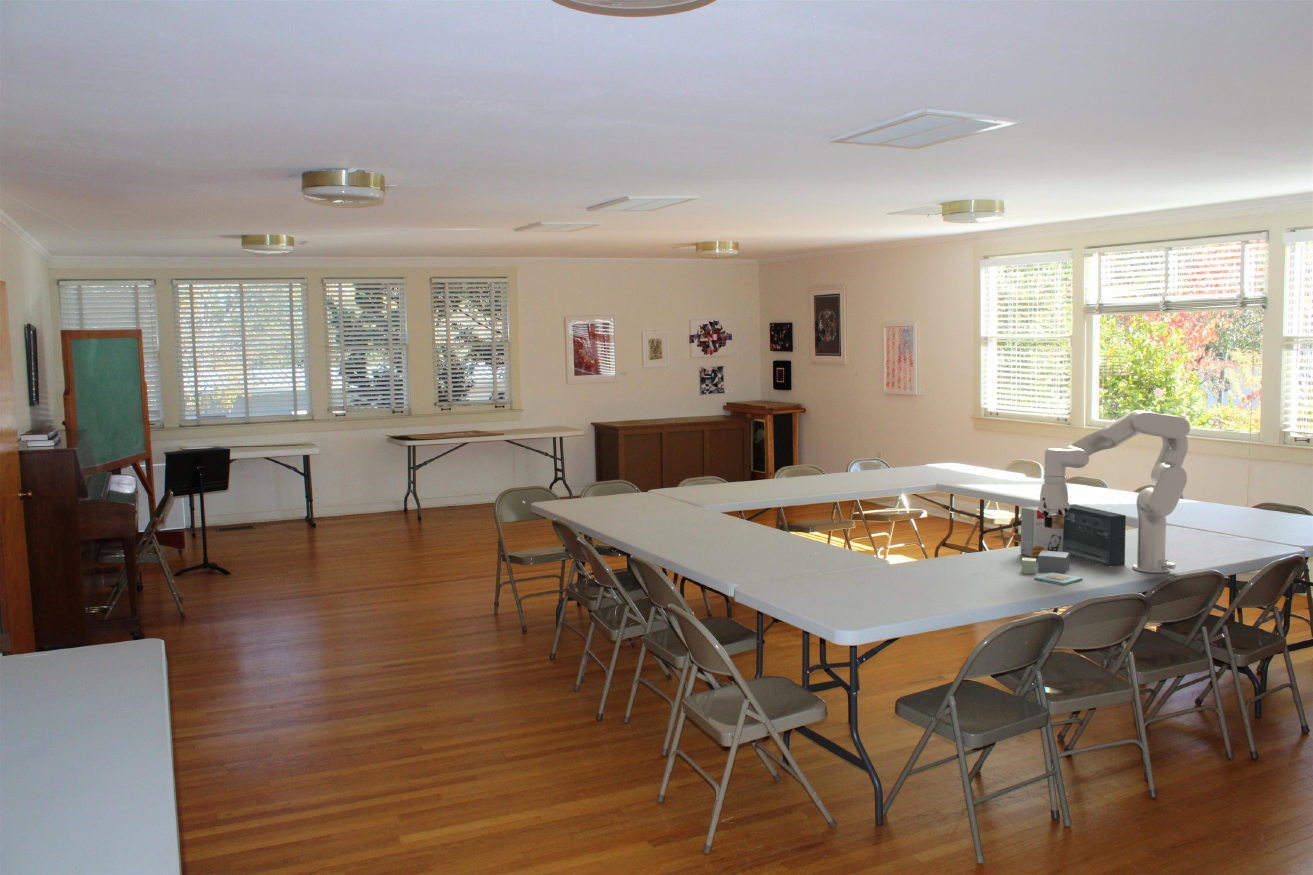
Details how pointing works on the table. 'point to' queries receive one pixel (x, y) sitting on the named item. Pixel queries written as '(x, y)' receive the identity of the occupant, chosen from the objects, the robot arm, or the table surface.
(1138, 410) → the robot arm
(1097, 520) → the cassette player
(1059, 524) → the walnut cube
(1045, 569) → the plinth
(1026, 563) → the sage cube
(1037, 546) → the hard drive box
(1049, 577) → the board
